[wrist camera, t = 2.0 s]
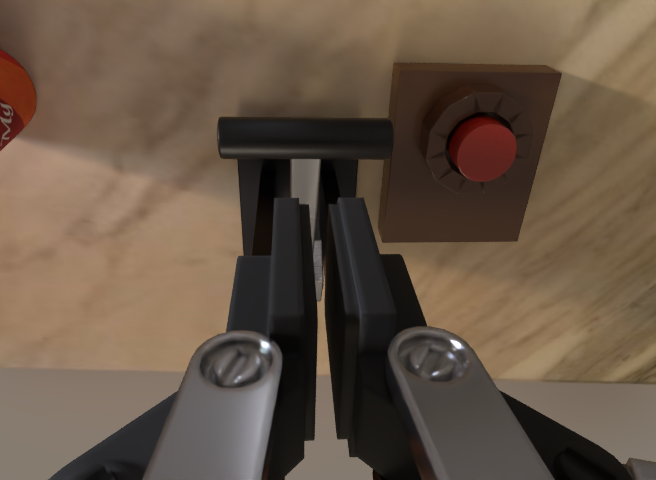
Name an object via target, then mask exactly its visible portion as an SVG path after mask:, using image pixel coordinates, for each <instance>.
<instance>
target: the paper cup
mask: <svg viewBox="0 0 656 480" xmlns="http://www.w3.org/2000/svg"><path fill="white" fill-rule="evenodd" d="M35 109H36V93H35V89H34V86H33V83H32V81H31V79H30V77H29V76H28V74H27V72H26V71H25V70H24V68H23V67H22V66H21V65H20V64H19V63H18V62H17V61H16V60H15V59H14V58H12V57H11V56H10V55H8V54H7V53H5V52H4V51H2V50H0V151H1V150H2V149H3V148H4V147H5V146H6V145H7V144H8V143H9V142H10V141H11V140H12V139H14V138H15V137H16V136H17V135H18V134H19V133H20V132H21V131H22V130H23V129H24V128H25V126H26V125H27V124H28V123H29V122H30V120H31V119H32V117H33V115H34V112H35Z"/></svg>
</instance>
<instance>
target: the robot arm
mask: <svg viewBox="0 0 656 480" xmlns="http://www.w3.org/2000/svg"><path fill="white" fill-rule="evenodd" d="M325 322H326V332H327V342H328V352H329V362H330V372H331V382H332V392H333V402H334V412H335V423H336V433H337V439H348V448H349V456H350V457H358V458H359V459H361V460H362V461H364V462H365V463H366V464H367V465H369V466H370V467H371V468H373V480H656V462H651V461H645V460H640V459H634V458H629V459H628V461H627V463H626V464H621V463H620V462H619V461H618V460H617V459H616V458H615V457H614V456H613V455H611V454H610V453H608V452H607V451H606V450H604V449H603V448H601V447H600V446H598V445H596V444H595V443H593V442H591V441H589V440H588V439H586V438H584V437H582V436H580V435H579V434H577V433H575V432H573V431H571V430H570V429H568V428H566V427H564V426H562V425H560V424H559V423H557V422H555V421H553V420H552V419H550V418H548V417H546V416H545V415H543V414H541V413H539V412H537V411H536V410H534V409H532V408H530V407H529V406H527V405H525V404H523V403H521V402H520V401H517V400H516V399H514V398H512V397H510V396H509V395H507V394H505V393H503V392H501V391H500V390H498V388H497V387H496V385H495V384H494V382H493V380H492V379H491V377H490V376H489V374H488V372H487V371H486V369H485V368H484V366H483V364H482V363H481V361H480V360H479V358H478V357H477V355H476V353H475V352H474V350H473V349H472V348H471V347H470V346H469V344H468V343H467V342H466V341H464V340H463V339H462V338H460V337H459V336H457V335H456V334H454V333H451V332H449V331H446V330H444V329H440V328H435V327H430V326H427V324H426V321H425V318H424V316H423V313H422V310H421V307H420V304H419V302H418V299H417V296H416V293H415V290H414V288H413V285H412V282H411V279H410V276H409V274H408V271H407V268H406V265H405V262H404V260H403V258H402V256H401V255H400V254H380V253H379V250H378V246H377V243H376V239H375V236H374V232H373V229H372V226H371V222H370V219H369V215H368V212H367V208H366V205H365V201H364V198H338V201H337V204H329V205H328V224H327V252H326V279H325ZM317 330H318V318H317V298H316V286H315V273H314V261H313V248H312V236H311V223H310V211H309V204H299V198H274V213H273V233H272V253H271V256H238V259H237V264H236V271H235V277H234V284H233V290H232V297H231V303H230V310H229V316H228V323H227V329H226V332H225V333H221V334H218V335H216V336H214V337H212V338H210V339H208V340H206V341H205V342H204V343H203V344H202V345H201V346H199V347H198V348H197V350H196V351H195V353H194V354H193V356H192V358H191V360H190V362H189V365H188V367H187V370H186V372H185V375H184V377H183V380H182V382H181V385H180V387H179V390H178V391H177V392H175V393H174V394H172V395H171V396H169V397H168V398H166V399H165V400H163V401H162V402H160V403H159V404H157V405H156V406H154V407H153V408H151V409H150V410H148V411H147V412H145V413H144V414H142V415H141V416H139V417H138V418H136V419H135V420H133V421H132V422H130V423H129V424H127V425H126V426H124V427H123V428H121V429H120V430H119V431H117V432H116V433H114V434H112V435H111V436H109V437H108V438H106V439H105V440H103V441H102V442H101V443H99V444H97V445H96V446H95V447H93V448H91V449H90V450H88V451H87V452H85V453H84V454H82V455H81V456H79V457H78V458H76V459H75V460H73V461H72V462H70V463H69V464H67V465H66V466H65V467H63V468H62V469H61V470H60V471H58V472H57V473H56V474H54V475H53V476H52V477H51V478H50V479H48V480H285V476H286V475H287V474H288V473H289V472H290V471H291V470H292V469H293V468H294V467H295V466H296V465H297V464H298V463H299V462H300V461H302V460H303V459H304V441H309V440H314V436H315V434H314V433H315V402H316V399H315V398H316V366H317Z"/></svg>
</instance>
